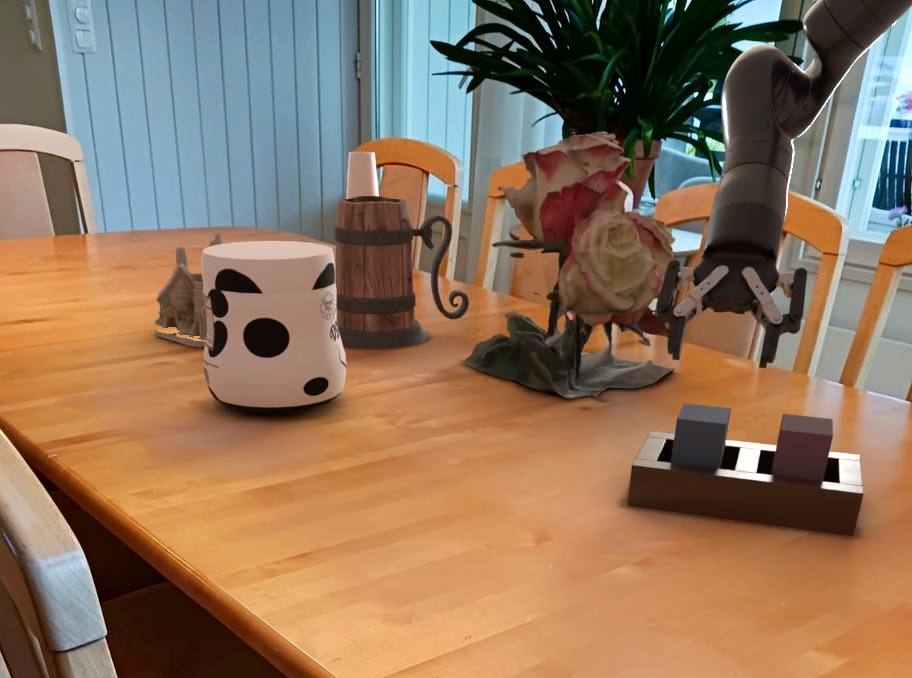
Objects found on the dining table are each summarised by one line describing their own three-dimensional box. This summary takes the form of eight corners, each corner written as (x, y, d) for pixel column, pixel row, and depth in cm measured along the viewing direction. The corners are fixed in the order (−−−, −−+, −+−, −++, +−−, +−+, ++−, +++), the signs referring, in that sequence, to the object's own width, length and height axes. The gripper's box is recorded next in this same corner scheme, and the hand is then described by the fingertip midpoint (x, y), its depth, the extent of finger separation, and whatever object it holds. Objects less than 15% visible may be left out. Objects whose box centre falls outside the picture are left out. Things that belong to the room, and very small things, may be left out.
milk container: (374, 398, 124) (372, 247, 115) (285, 432, 111) (274, 266, 102) (272, 377, 132) (262, 235, 123) (177, 407, 119) (159, 251, 110)
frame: (853, 535, 87) (863, 493, 85) (627, 504, 93) (631, 465, 91) (850, 493, 97) (860, 454, 95) (644, 467, 102) (649, 430, 100)
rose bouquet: (587, 410, 120) (612, 138, 105) (446, 361, 141) (450, 128, 126) (722, 380, 134) (761, 135, 119) (575, 340, 154) (593, 126, 139)
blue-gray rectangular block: (673, 480, 99) (684, 403, 95) (718, 486, 98) (731, 408, 94) (665, 499, 95) (676, 418, 91) (712, 505, 93) (726, 424, 89)
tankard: (327, 349, 146) (321, 205, 136) (317, 326, 161) (311, 193, 151) (478, 345, 150) (484, 204, 140) (455, 322, 165) (459, 193, 155)
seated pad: (767, 492, 96) (782, 413, 92) (815, 498, 95) (832, 418, 91) (764, 512, 92) (780, 429, 88) (814, 518, 91) (833, 435, 87)
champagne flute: (342, 290, 189) (337, 152, 177) (355, 284, 194) (351, 150, 182) (374, 293, 187) (372, 153, 175) (386, 287, 192) (385, 152, 181)
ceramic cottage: (164, 322, 160) (154, 225, 152) (263, 328, 160) (259, 232, 152) (136, 351, 147) (124, 246, 139) (244, 357, 147) (238, 253, 139)
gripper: (676, 195, 100) (646, 332, 96) (823, 201, 96) (798, 344, 92) (676, 243, 107) (648, 373, 103) (813, 251, 103) (789, 386, 99)
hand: (719, 359), depth 97 cm, fingers open, 8 cm apart
